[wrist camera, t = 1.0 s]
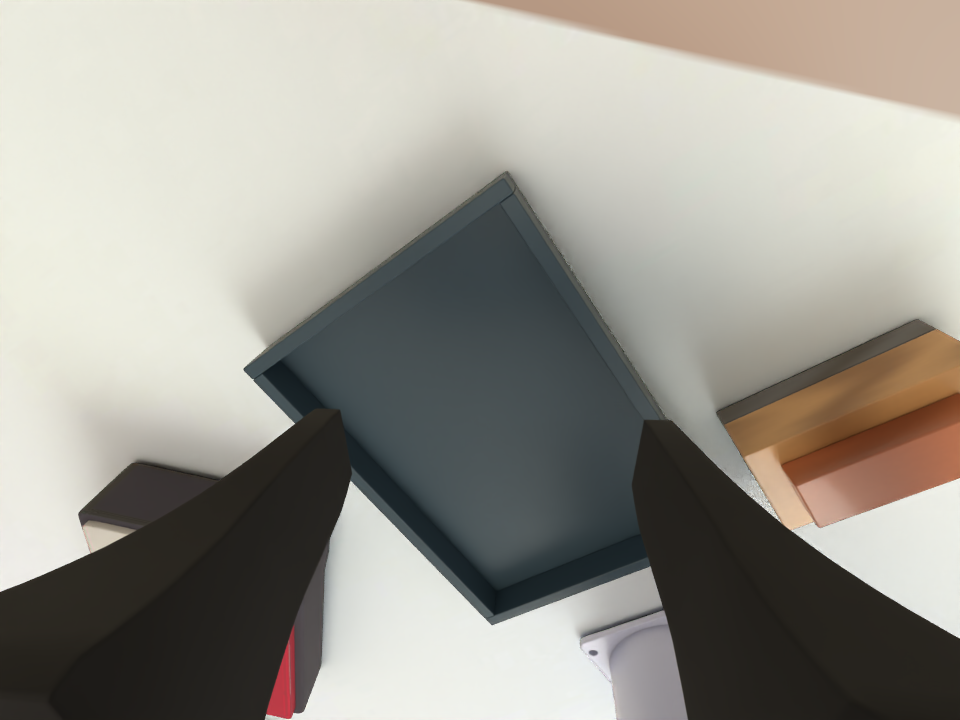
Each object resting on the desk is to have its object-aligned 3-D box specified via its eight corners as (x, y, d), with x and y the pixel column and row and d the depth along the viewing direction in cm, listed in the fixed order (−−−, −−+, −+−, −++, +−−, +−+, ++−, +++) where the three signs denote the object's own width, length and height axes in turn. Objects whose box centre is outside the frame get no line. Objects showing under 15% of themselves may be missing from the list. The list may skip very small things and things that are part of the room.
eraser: (917, 317, 19) (1018, 371, 15) (950, 401, 20) (1049, 470, 16) (715, 411, 22) (755, 478, 18) (756, 480, 23) (801, 555, 19)
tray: (719, 501, 24) (735, 535, 22) (494, 591, 28) (491, 625, 26) (507, 170, 18) (503, 177, 16) (266, 348, 22) (241, 369, 21)
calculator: (121, 691, 30) (59, 522, 22) (167, 623, 34) (129, 459, 26) (298, 730, 30) (296, 574, 22) (325, 658, 34) (331, 503, 26)
